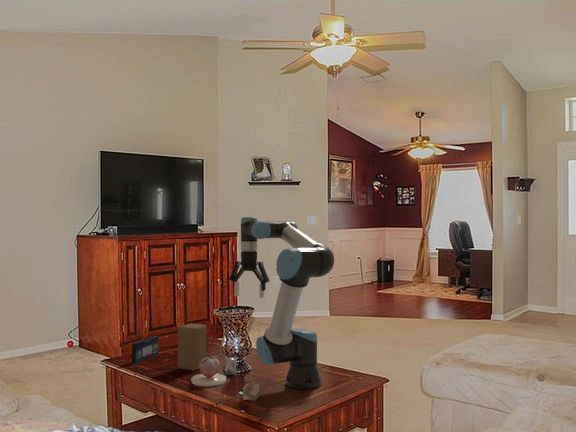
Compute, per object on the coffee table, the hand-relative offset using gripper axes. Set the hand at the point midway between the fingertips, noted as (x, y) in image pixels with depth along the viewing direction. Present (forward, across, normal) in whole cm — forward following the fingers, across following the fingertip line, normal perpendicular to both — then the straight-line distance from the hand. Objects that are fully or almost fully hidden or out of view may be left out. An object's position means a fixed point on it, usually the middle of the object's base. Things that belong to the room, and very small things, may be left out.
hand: (249, 296), depth 256 cm
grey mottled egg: (+35, +6, +6) cm, 36 cm away
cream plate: (+35, +8, +20) cm, 41 cm away
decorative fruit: (+33, +8, +20) cm, 40 cm away
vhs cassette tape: (+35, +58, +5) cm, 68 cm away
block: (+35, +28, +6) cm, 45 cm away
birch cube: (+35, -20, +30) cm, 50 cm away
